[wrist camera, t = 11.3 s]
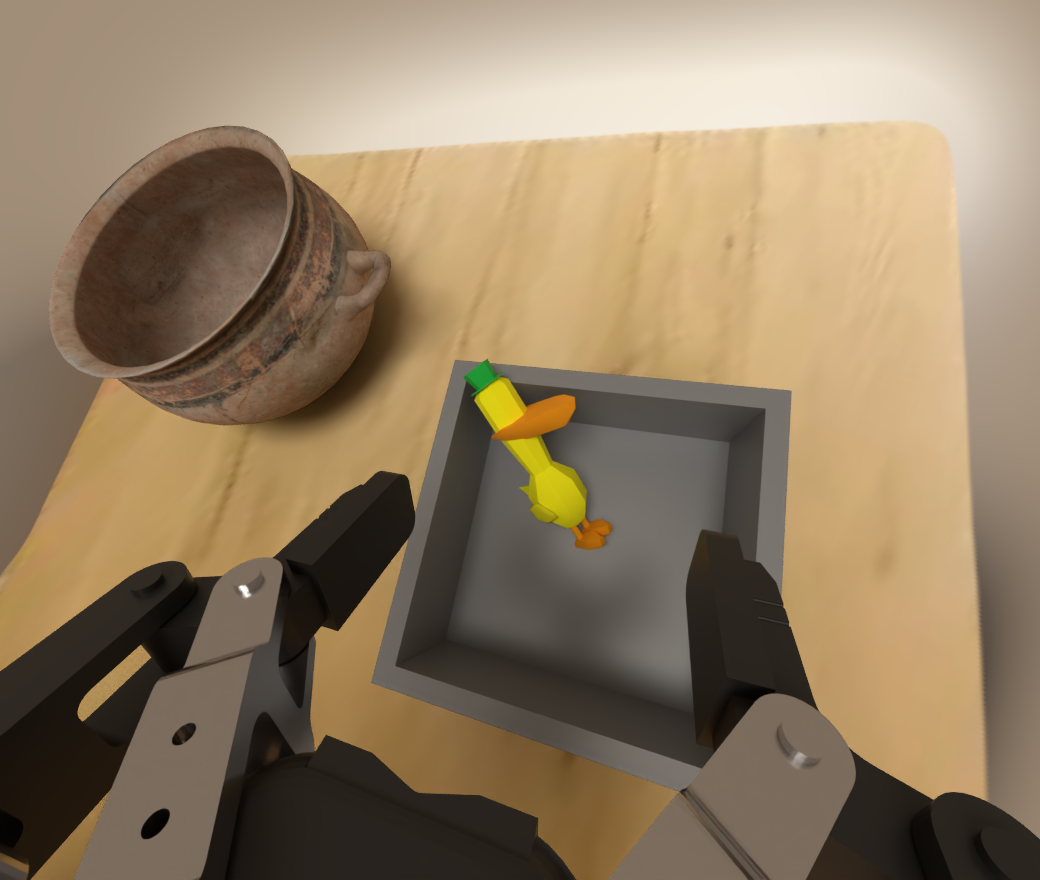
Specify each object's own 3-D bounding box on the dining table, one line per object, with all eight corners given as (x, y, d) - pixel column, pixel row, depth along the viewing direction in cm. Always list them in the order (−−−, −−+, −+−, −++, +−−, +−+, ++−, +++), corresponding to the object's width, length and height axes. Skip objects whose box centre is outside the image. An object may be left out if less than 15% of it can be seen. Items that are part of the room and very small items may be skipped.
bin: (433, 648, 25) (371, 682, 19) (490, 402, 29) (455, 360, 23) (720, 737, 21) (770, 823, 14) (743, 433, 25) (791, 390, 18)
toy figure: (658, 513, 22) (550, 320, 19) (638, 561, 19) (510, 349, 16) (565, 521, 26) (466, 368, 23) (540, 561, 24) (426, 396, 21)
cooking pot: (459, 240, 34) (381, 82, 23) (427, 453, 29) (308, 389, 18) (230, 263, 40) (76, 148, 28) (172, 443, 35) (-40, 391, 24)
